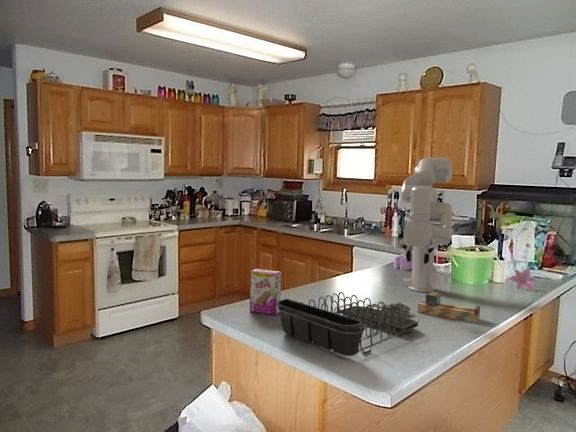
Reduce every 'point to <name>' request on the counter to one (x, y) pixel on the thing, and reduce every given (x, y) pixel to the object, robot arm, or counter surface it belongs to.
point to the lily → (523, 279)
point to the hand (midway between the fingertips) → (417, 261)
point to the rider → (433, 298)
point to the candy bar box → (265, 291)
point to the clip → (403, 262)
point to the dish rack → (340, 323)
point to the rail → (450, 311)
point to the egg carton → (402, 307)
